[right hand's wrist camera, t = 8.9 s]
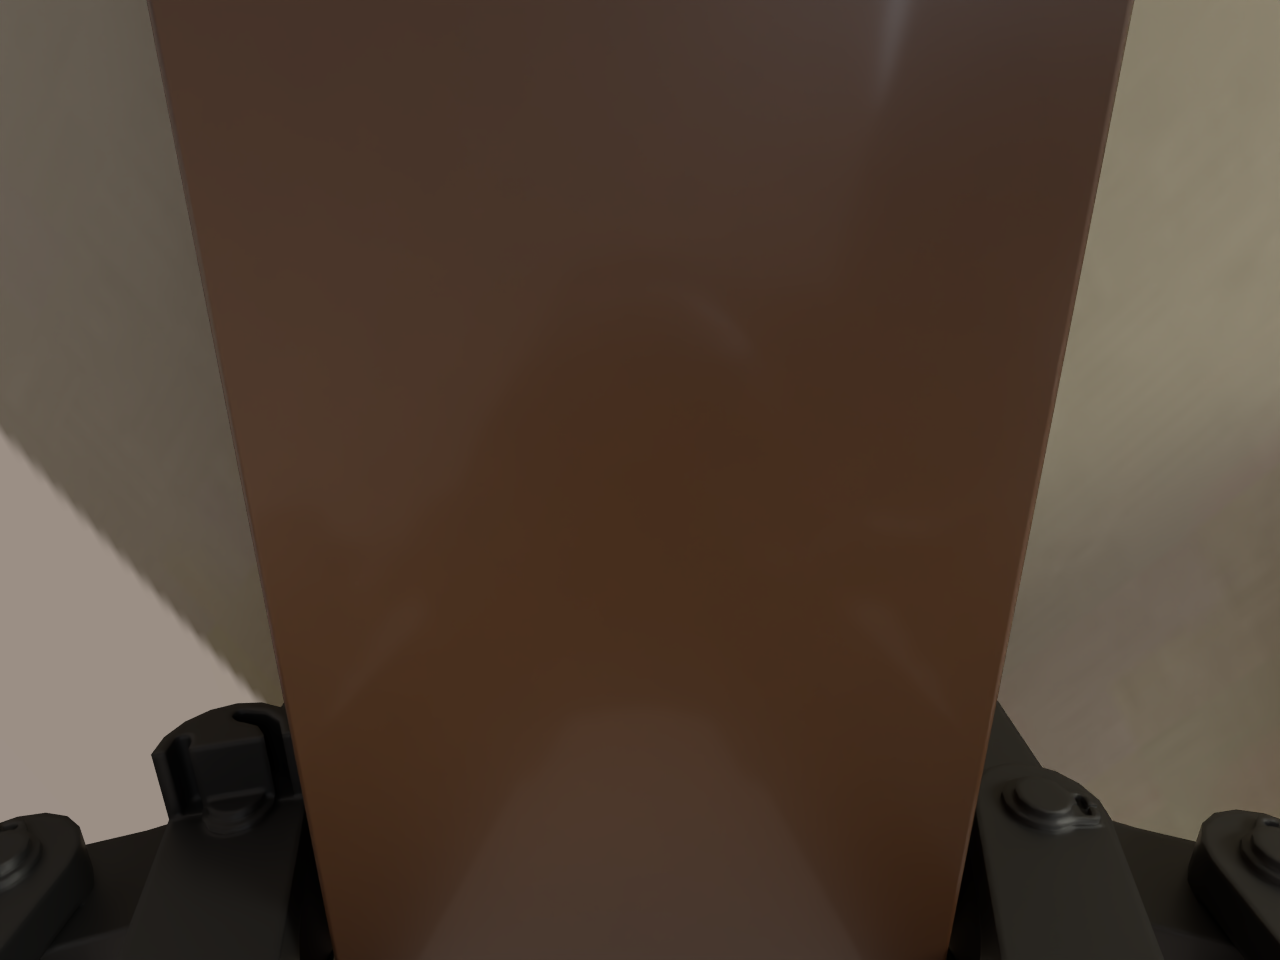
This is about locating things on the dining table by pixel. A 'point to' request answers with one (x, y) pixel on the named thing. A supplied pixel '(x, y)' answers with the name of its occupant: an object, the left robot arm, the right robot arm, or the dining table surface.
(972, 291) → the walnut box
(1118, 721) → the dining table surface
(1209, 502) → the dining table surface
